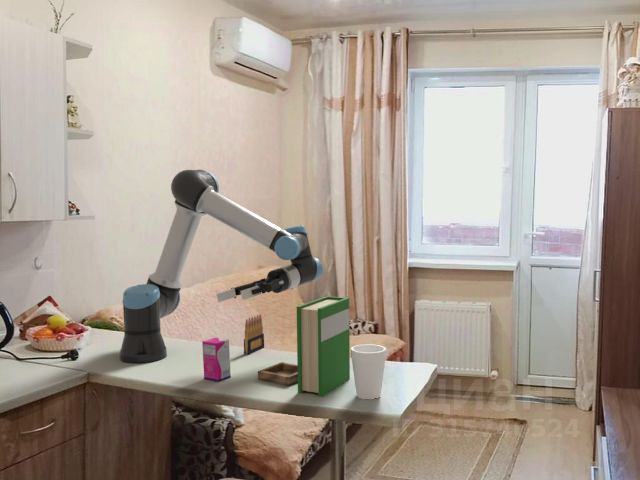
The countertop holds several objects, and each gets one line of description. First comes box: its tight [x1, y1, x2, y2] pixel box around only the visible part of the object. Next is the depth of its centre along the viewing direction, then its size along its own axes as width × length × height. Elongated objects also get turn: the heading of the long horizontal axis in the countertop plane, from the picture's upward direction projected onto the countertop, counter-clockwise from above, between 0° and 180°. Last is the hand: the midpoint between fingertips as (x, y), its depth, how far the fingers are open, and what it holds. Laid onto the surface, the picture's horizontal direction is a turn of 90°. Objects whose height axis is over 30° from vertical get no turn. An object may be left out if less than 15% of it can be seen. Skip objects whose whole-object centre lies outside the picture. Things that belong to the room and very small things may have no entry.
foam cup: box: [350, 343, 387, 400], centre depth 180 cm, size 10×9×13 cm
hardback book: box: [296, 295, 351, 398], centre depth 188 cm, size 18×7×24 cm, turn 152°
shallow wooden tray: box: [257, 361, 298, 387], centre depth 197 cm, size 11×11×2 cm
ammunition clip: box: [243, 313, 265, 356], centre depth 228 cm, size 11×2×12 cm, turn 155°
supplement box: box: [201, 337, 232, 383], centre depth 198 cm, size 6×6×12 cm
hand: (229, 296), depth 204 cm, fingers open, 13 cm apart
